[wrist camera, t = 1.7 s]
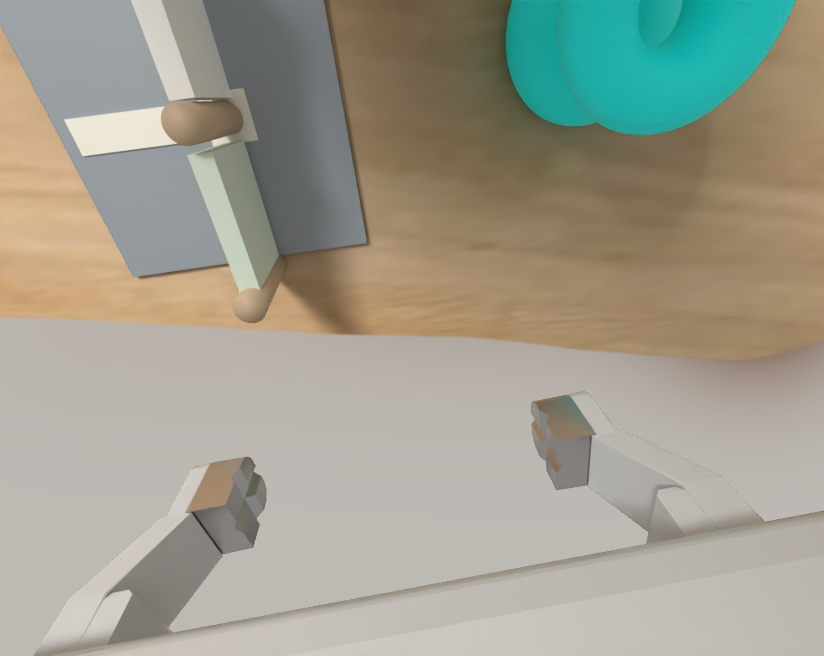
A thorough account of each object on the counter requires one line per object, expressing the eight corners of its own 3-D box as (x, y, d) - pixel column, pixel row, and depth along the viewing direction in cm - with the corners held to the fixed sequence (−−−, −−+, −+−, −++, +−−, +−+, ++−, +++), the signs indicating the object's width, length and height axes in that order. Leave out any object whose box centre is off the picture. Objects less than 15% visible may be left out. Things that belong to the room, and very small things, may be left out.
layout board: (-58, -93, 18) (-66, -97, 18) (300, -132, 19) (299, -136, 19) (135, 275, 28) (132, 277, 28) (367, 241, 29) (367, 243, 28)
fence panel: (219, 143, 24) (172, 158, 18) (248, 139, 24) (211, 153, 18) (264, 277, 29) (239, 325, 23) (289, 274, 29) (269, 320, 23)
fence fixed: (129, -130, 18) (16, -240, 12) (168, -134, 18) (74, -246, 12) (218, 136, 24) (171, 148, 18) (247, 132, 24) (209, 143, 18)
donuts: (535, -56, 14) (828, -300, 12) (469, 2, 22) (632, -133, 20) (620, 182, 19) (839, 40, 17) (539, 156, 27) (677, 59, 25)
